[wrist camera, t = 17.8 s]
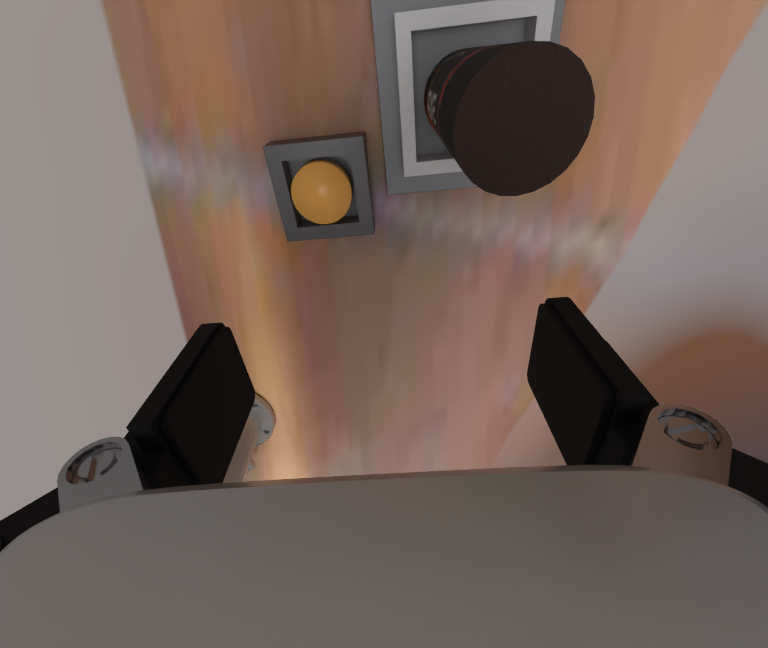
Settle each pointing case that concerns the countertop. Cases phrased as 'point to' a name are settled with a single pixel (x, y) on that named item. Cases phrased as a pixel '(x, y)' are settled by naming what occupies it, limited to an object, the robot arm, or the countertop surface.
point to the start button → (322, 191)
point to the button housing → (340, 148)
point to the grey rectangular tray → (416, 62)
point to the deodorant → (511, 112)
